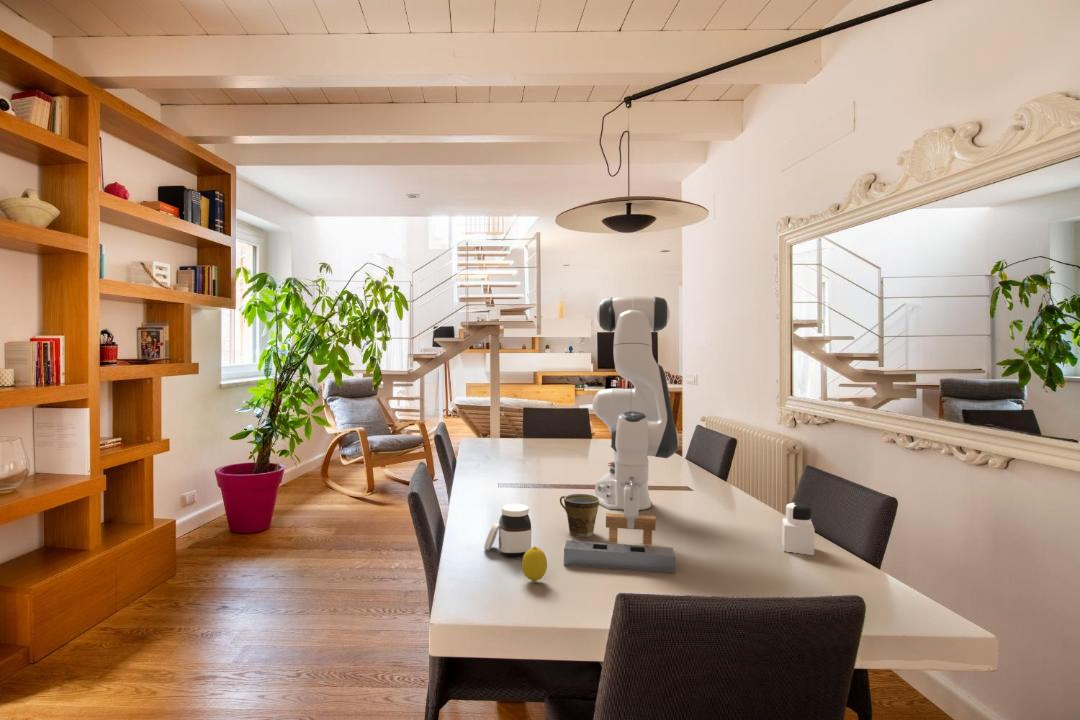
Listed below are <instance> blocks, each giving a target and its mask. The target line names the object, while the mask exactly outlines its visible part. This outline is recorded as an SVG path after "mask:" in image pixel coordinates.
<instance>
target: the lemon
mask: <svg viewBox="0 0 1080 720" xmlns="http://www.w3.org/2000/svg"><path fill="white" fill-rule="evenodd" d="M547 567H548V561H547V557H546V554H545V552H544V551H543V550H542V549H541V548H539V547H537V546H533V547H531V548H530V549H529V550H527V551H526V553H525V554H524V557H522V562H521V570H522V572H523V575H524V576H525V577H526V578H527V579H528V580H529V581H532V583H537V581H540V580H541V579H543V577H544V576H545V575H546V572H547V569H548V568H547Z"/></svg>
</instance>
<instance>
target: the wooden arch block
mask: <svg viewBox="0 0 1080 720" xmlns="http://www.w3.org/2000/svg"><path fill="white" fill-rule="evenodd" d="M656 519H657V517H656V516H655V515H642V514H639V515H638V518H637V519H635V520H634V528H628V527H627V518H625V517H624V513H611V512H606V513H605V528H608V529H609V530H608V543H614V544H618V533H619V532H618V529H624V530H625V529H626V530H639V531H640V530H641V531H642V532H643V533H642V545H643V546H653V544H652V543H653V541H652V540H653V532H655V531H656V528H657V527H656V526H657V525H656V522H657V520H656Z"/></svg>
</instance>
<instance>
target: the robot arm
mask: <svg viewBox="0 0 1080 720" xmlns="http://www.w3.org/2000/svg"><path fill="white" fill-rule="evenodd" d="M596 310H597V311H596V319H597V322H598V324H599V328H601V329H602V330H604V331H607V332H609V333H612V332H614V333H613V334H614V336H613V361H614V369H615V371H616V373H617V375H618V376H619V377H621V378H622V379H624V380H626V381H629V382H630V383H631V384H632V385H633V388H618V387H617V388H616V387H615V388H612V387H611V388H605V389H600V390H598V391H597V392H596V394H595V395H594V397H593V399H592V408H593V409H592V410H593V412H594V414H595V415H596V417H597V418H598V419H600V420H601V421H602V422H603V424H605V426H606V427H607V429H608V431H609V432H610V434H611V443H610V444H611V445H610V448H611V449H612V450H613V461H611V462H607V467H610V468H609V471H608V472H607V473H606V474H605V475H603V476H602V477H601V478H599V479H598V480H597V481H596V483H595V488H594V492H592V493H590V494H589V495H593V496H596V497H598V498H599V506H600V505H601V506H602V507H605V508H607V509H609V510H623V514H624V517H625V518H627V527H628V528H634V520H635V519H637V518H638V515H640V513H639V511H640V510H647V509H649V508H650V507H652V504H651V497H650V493H649V467H650V466H649V462H650V461H649V458H648V457H654V458H655V457H656V458H662V459H668V458H670V457H672V456H673V455H674V454H676V452H677V451H678V450H679V444H680V440H679V438H680V437H679V432H678V430H677V427H676V423H675V420H674V419H675V418H674V413H673V408H672V402H671V397H670V391H669V387H668V382H667V377H666V374H665V370H664V367H663V366H662V365H661V364H658V363H657V361H656V359H655V358H654V355H653V342H652V341H653V340H652V333H653V334H654V333H656V332H659V331H661V330H664V329H665V328H666V327H667V325H668V323H669V320H670V316H671V315H670V314H671V312H670V306H669V304H668V301H667V300H666V299H665V298H663V297H659V296H654V297H653V296H645V295H633V296H620V297H614V298H613V297H606V298H603V299H602V300H600V302H599V305H598V307H597V309H596Z"/></svg>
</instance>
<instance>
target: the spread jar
mask: <svg viewBox="0 0 1080 720" xmlns="http://www.w3.org/2000/svg"><path fill="white" fill-rule="evenodd" d="M529 509H530V508H529V506H528V505H526V504H522V503H508V504H505V505H503V506H501V515H500V517H499V521H498V523H495V522H494V523H493V524H492V526H491V528H490V530H489V532H488V534H487V537H486V540H485V543H484V547H483V548H484V550H487V551H490V550H491V548H492V547H493V546H494V543H495V540H496V538H497V535H498V549H499V552H500V554H501V555H502V556H503V557H506V558H511V559H516V558H517V559H518V558H523V557H524V554H525V553H526V551H527V550H529V549H530V548H532V522H531V517H530V515H529Z"/></svg>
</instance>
